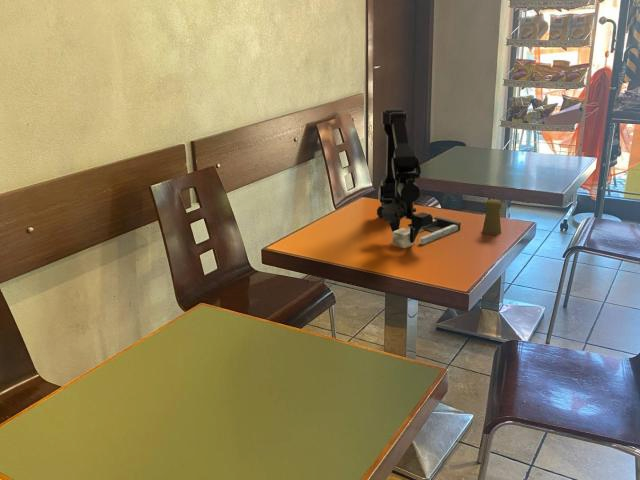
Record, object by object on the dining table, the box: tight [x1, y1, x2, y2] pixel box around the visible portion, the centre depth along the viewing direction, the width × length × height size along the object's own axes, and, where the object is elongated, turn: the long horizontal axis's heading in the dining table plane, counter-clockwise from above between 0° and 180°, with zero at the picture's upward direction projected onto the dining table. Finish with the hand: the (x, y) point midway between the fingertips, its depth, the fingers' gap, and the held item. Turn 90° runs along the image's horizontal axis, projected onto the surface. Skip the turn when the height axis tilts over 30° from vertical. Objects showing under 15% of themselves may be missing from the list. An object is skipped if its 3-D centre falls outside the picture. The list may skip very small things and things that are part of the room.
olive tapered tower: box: [481, 198, 503, 236], centre depth 205 cm, size 6×6×11 cm
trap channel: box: [407, 216, 462, 246], centre depth 207 cm, size 10×20×2 cm, turn 132°
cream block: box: [391, 227, 416, 249], centre depth 198 cm, size 5×5×4 cm
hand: (403, 240), depth 199 cm, fingers open, 6 cm apart
